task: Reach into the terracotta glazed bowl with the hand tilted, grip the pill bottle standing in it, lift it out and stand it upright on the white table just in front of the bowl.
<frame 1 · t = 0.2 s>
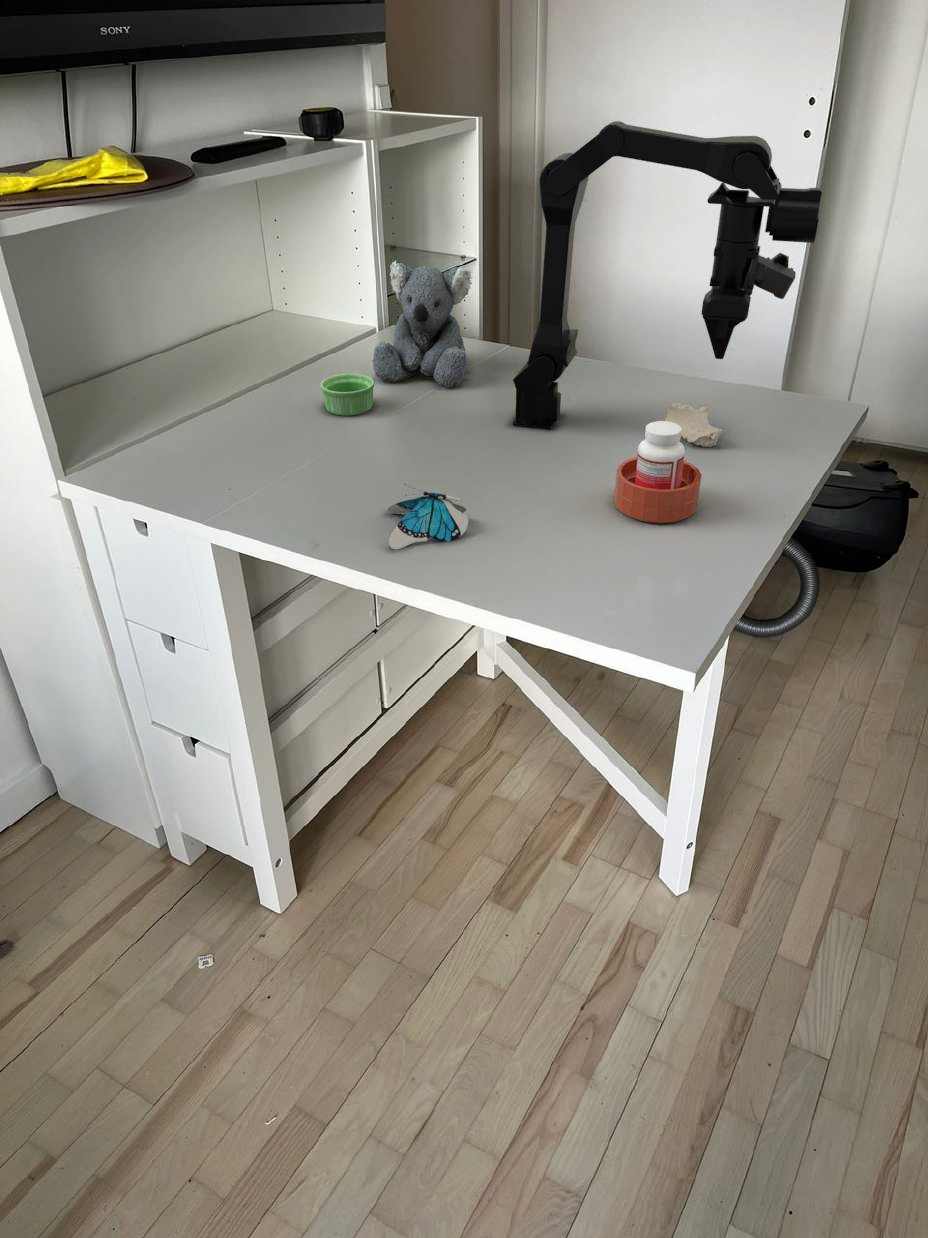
hand: (721, 348, 142), 15 cm above the table, tool pointing down, fingers open, 9 cm apart
coral: (689, 438, 152), on the table
koala plush: (428, 371, 178), on the table
pill bottle: (655, 504, 132), resting on bowl
ramekin: (349, 408, 164), on the table
bowl: (655, 505, 132), on the table
decorative butterfly: (428, 530, 128), on the table
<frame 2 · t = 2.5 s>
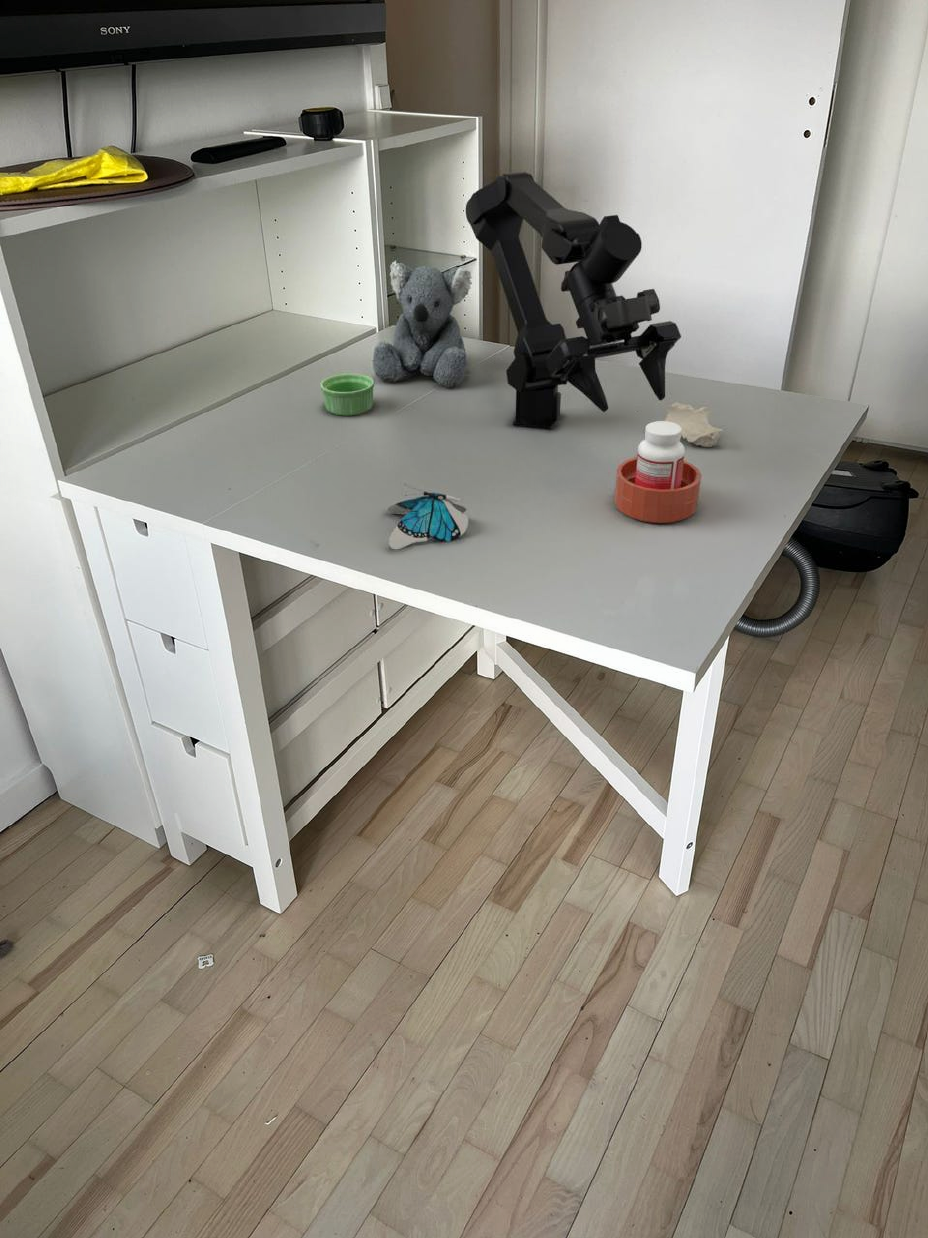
hand: (634, 404, 131), 12 cm above the table, tool tilted 45°, fingers open, 9 cm apart
nothing on the table moved.
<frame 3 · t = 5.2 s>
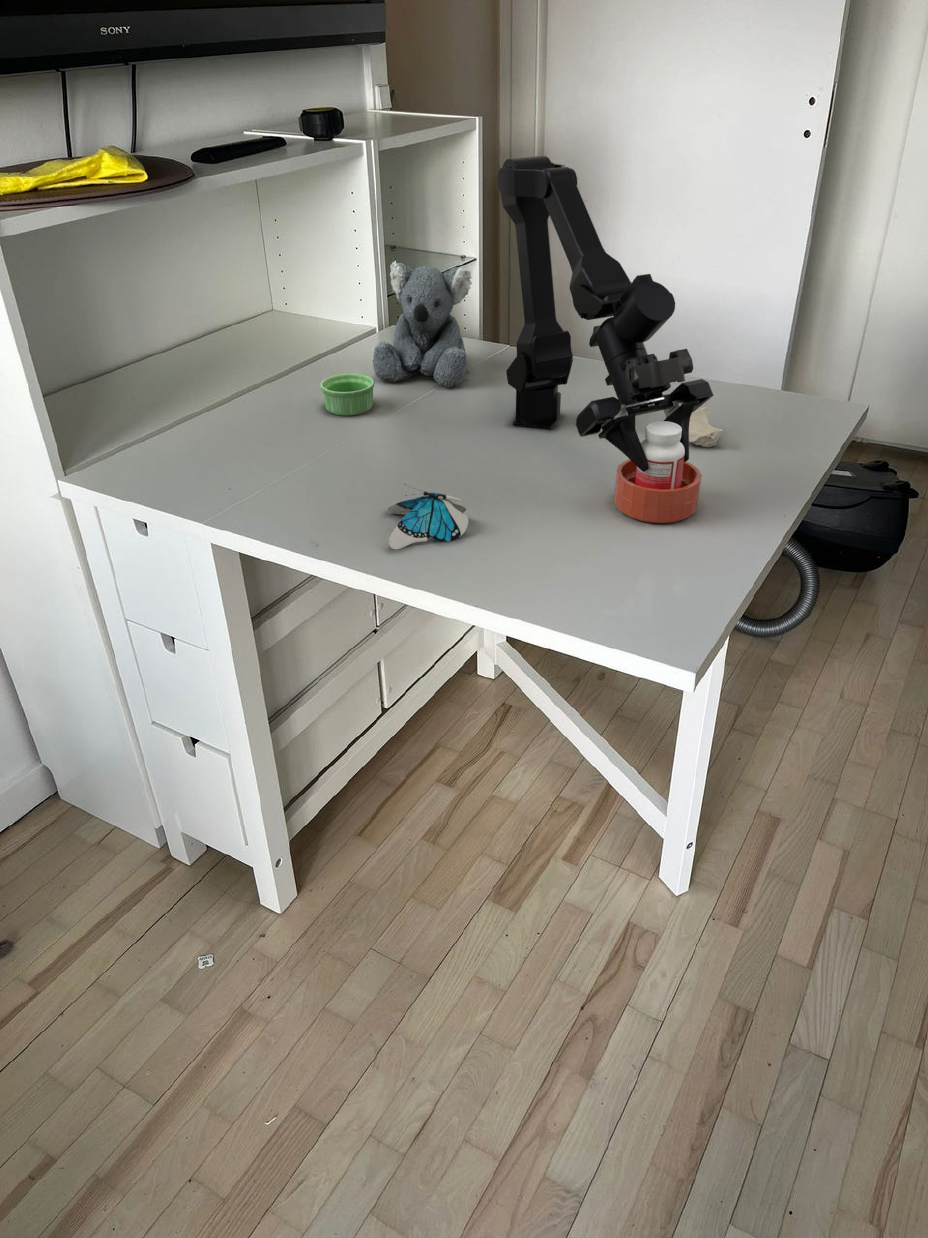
hand: (666, 465, 127), 7 cm above the table, tool tilted 45°, fingers closed on pill bottle, 6 cm apart
pill bottle: (655, 504, 132), resting on bowl, touching gripper
everything else where it was.
when the fingers open (6 cm above the table, at t = 11.9 s): pill bottle stays where it is, on the table.
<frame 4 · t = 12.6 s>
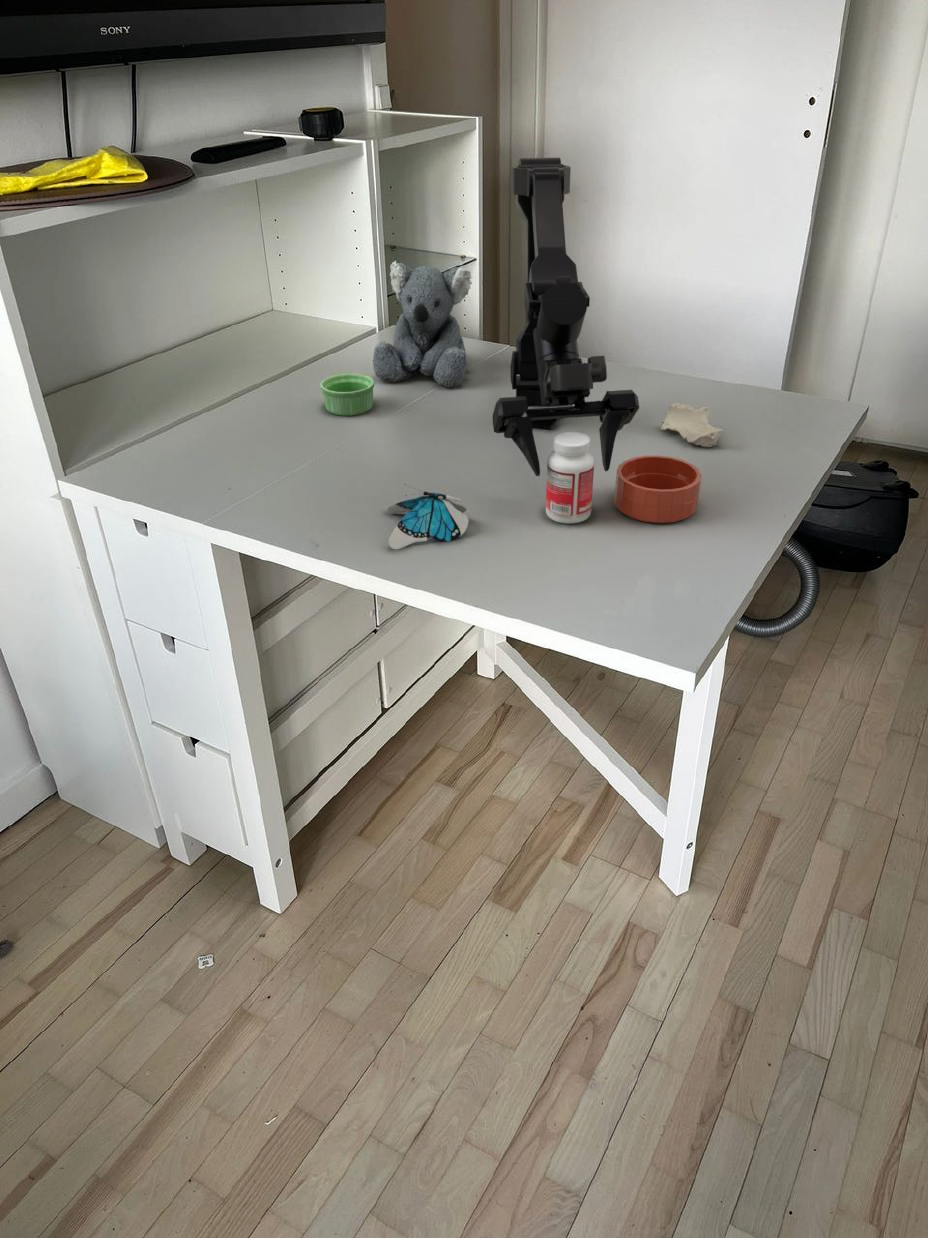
hand: (572, 472, 125), 7 cm above the table, tool tilted 45°, fingers open, 9 cm apart
pill bottle: (567, 515, 130), on the table
everything else where it was.
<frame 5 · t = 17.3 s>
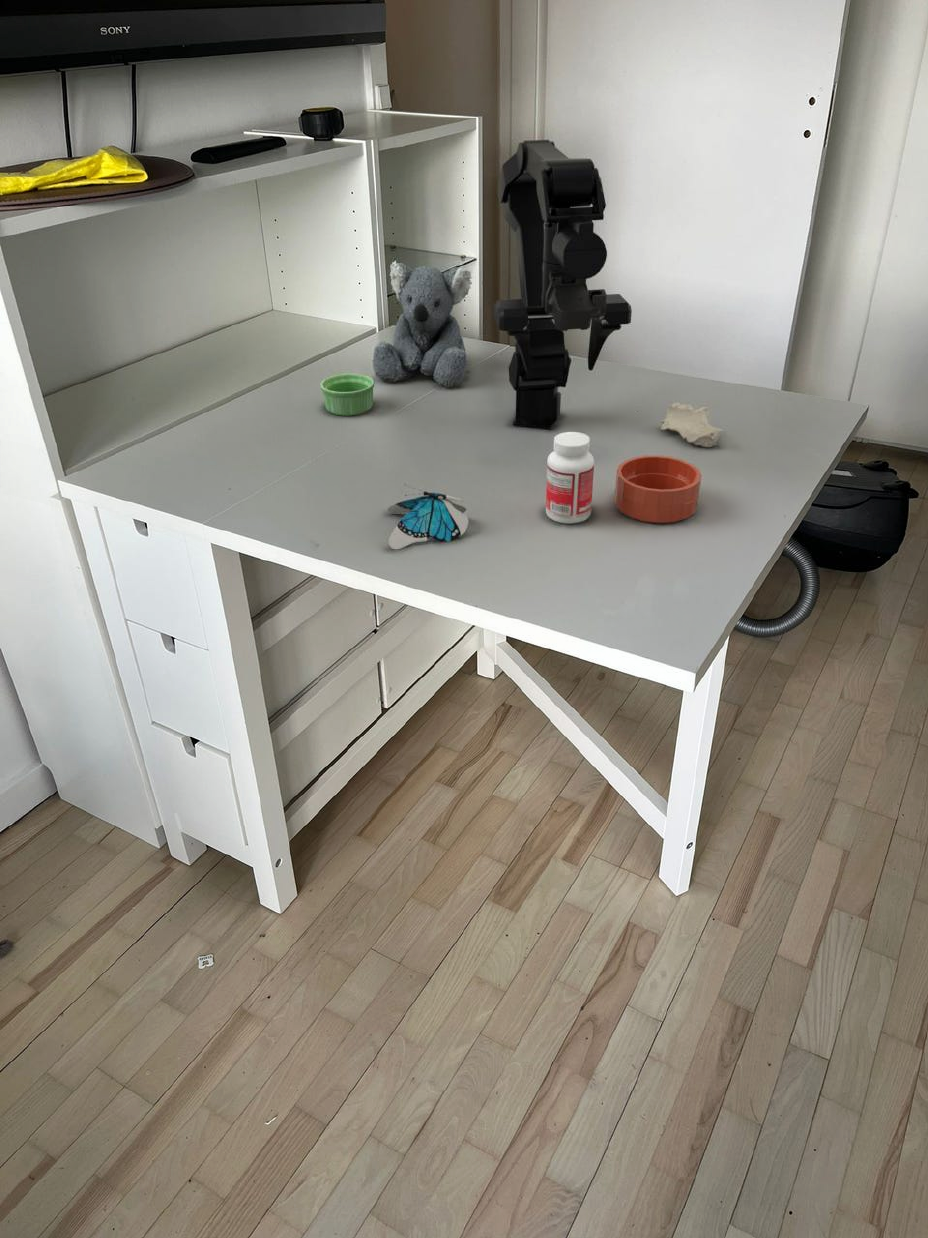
hand: (559, 371, 139), 13 cm above the table, tool pointing down, fingers open, 9 cm apart
nothing on the table moved.
at the end: pill bottle inside the target area (0.1 cm from its centre), on the table; pill bottle tilted 0°; pill bottle touching table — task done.
